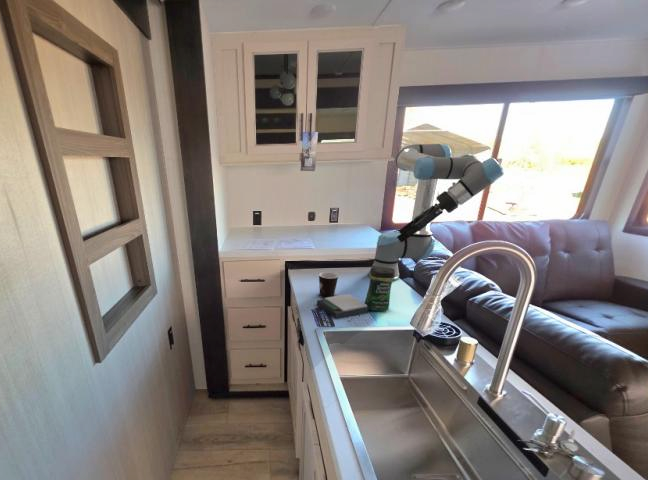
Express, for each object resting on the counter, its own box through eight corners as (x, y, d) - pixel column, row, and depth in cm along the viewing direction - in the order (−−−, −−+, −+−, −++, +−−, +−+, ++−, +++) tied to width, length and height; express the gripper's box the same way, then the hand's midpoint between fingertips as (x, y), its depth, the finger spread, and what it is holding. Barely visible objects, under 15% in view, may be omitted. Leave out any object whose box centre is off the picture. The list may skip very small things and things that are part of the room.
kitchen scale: (347, 299, 142) (348, 293, 141) (368, 312, 130) (369, 305, 129) (316, 305, 137) (317, 298, 135) (335, 319, 125) (336, 311, 123)
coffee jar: (366, 311, 131) (373, 269, 123) (362, 303, 138) (368, 263, 130) (390, 312, 130) (398, 270, 122) (385, 304, 137) (392, 264, 129)
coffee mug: (336, 299, 142) (338, 279, 138) (317, 298, 144) (318, 277, 139) (335, 290, 152) (337, 270, 148) (317, 289, 154) (319, 269, 150)
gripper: (443, 188, 123) (395, 224, 134) (449, 192, 102) (391, 234, 114) (455, 202, 123) (406, 237, 134) (464, 210, 102) (405, 250, 114)
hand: (399, 236), depth 124 cm, fingers open, 13 cm apart
